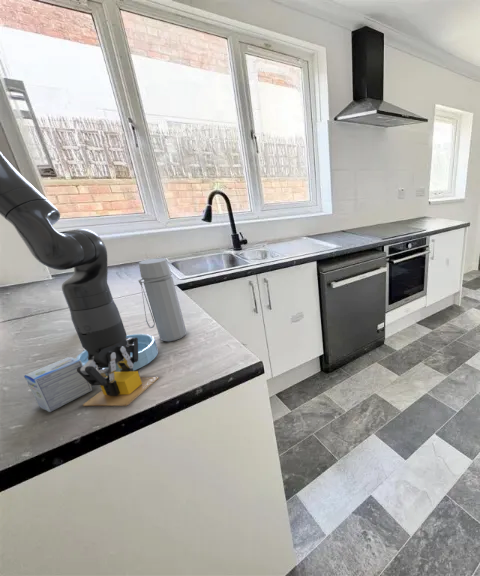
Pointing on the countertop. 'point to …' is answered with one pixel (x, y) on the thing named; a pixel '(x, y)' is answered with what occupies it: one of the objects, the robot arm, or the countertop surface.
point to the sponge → (126, 382)
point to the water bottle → (162, 299)
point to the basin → (145, 352)
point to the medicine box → (57, 383)
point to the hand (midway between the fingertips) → (122, 388)
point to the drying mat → (120, 399)
